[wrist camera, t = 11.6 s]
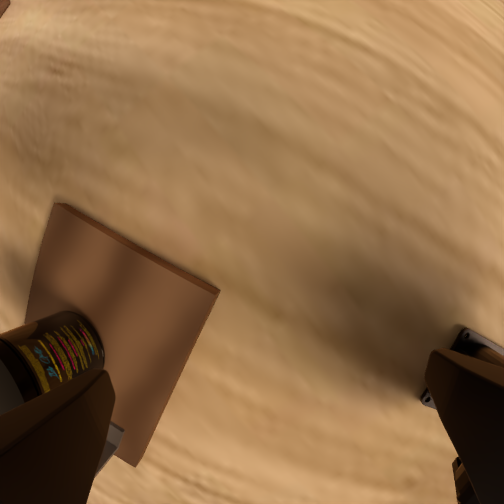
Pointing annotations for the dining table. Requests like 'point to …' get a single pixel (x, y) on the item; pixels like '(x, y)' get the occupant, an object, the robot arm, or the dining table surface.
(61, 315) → the supplement container
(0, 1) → the decorative block
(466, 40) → the dining table surface
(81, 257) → the shelf board
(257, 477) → the dining table surface
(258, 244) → the dining table surface
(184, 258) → the dining table surface
